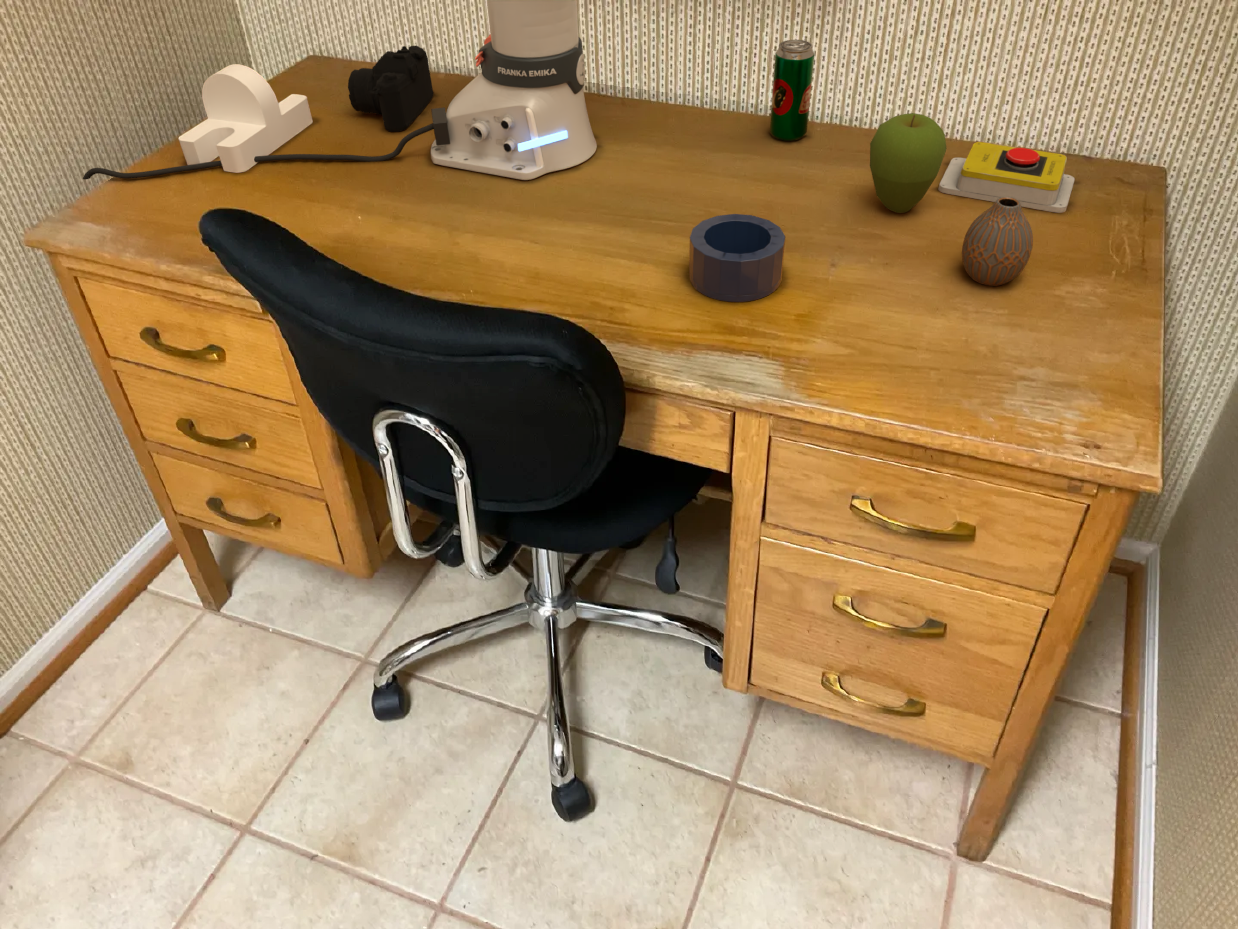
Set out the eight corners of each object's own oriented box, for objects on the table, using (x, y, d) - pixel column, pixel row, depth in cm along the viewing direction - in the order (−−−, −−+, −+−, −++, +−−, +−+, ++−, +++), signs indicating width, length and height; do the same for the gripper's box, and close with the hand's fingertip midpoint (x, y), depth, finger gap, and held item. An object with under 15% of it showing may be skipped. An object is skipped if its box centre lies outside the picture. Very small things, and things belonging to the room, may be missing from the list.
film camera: (381, 90, 150) (369, 30, 144) (441, 93, 148) (431, 32, 142) (342, 131, 139) (327, 67, 133) (405, 135, 137) (393, 70, 131)
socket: (682, 297, 104) (682, 256, 101) (697, 250, 111) (698, 210, 108) (775, 306, 102) (779, 264, 99) (785, 258, 109) (789, 217, 106)
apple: (871, 187, 122) (885, 95, 114) (940, 198, 119) (959, 105, 111) (853, 218, 116) (866, 123, 108) (924, 231, 113) (943, 135, 105)
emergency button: (1075, 179, 112) (943, 158, 117) (1064, 213, 115) (936, 191, 120) (1084, 146, 118) (959, 128, 123) (1074, 180, 121) (952, 160, 126)
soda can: (805, 143, 131) (814, 52, 123) (767, 141, 132) (774, 51, 124) (807, 128, 135) (816, 38, 127) (770, 126, 136) (777, 37, 128)
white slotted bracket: (315, 120, 142) (298, 48, 136) (242, 173, 130) (219, 97, 123) (260, 113, 145) (240, 42, 138) (183, 165, 132) (157, 90, 126)
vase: (947, 262, 108) (963, 188, 102) (1008, 257, 108) (1028, 184, 102) (969, 295, 103) (987, 220, 97) (1033, 290, 103) (1055, 215, 97)
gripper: (743, -26, 146) (730, 3, 136) (882, -22, 142) (879, 9, 132) (741, 18, 150) (728, 50, 140) (876, 23, 146) (872, 56, 136)
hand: (802, 30), depth 136 cm, fingers open, 8 cm apart
